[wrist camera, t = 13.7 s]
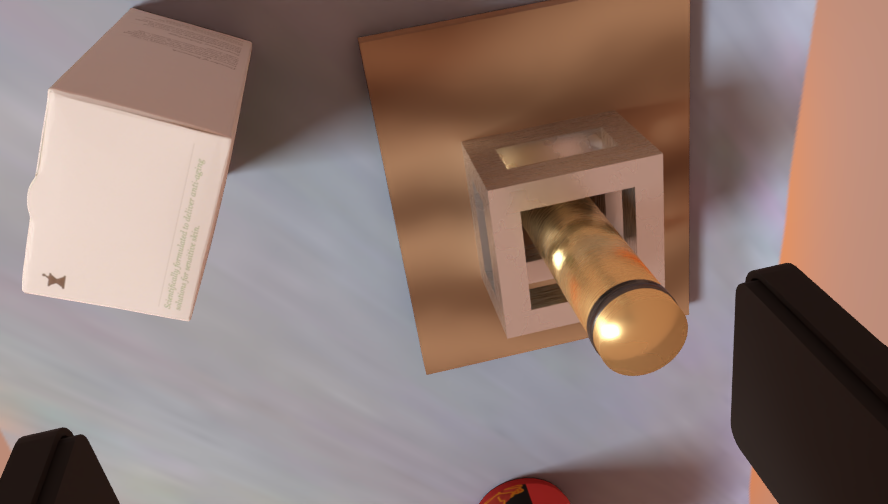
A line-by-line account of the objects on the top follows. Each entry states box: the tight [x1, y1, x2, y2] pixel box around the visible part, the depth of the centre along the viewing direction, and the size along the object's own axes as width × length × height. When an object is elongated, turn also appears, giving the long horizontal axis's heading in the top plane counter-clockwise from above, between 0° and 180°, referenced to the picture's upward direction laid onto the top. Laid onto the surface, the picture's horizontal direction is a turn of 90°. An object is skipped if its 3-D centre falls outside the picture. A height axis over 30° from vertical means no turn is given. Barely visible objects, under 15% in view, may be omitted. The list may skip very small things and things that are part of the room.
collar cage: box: [461, 110, 665, 339], centre depth 45 cm, size 9×9×7 cm
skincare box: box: [22, 8, 252, 321], centre depth 36 cm, size 8×7×16 cm
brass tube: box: [520, 197, 688, 376], centre depth 41 cm, size 4×4×15 cm
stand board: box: [358, 0, 690, 375], centre depth 48 cm, size 22×18×1 cm
